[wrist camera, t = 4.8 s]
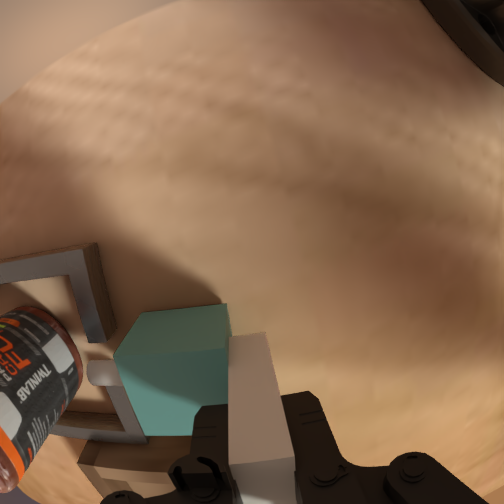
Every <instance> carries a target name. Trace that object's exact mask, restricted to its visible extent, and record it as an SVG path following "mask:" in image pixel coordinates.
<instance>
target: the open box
mask: <svg viewBox="0 0 504 504" xmlns="http://www.w3.org/2000/svg"><path fill="white" fill-rule="evenodd" d="M191 439H192V436H151V437H150V440H149V444H129V443H115V442H104V441H94V440H88V441H87V443H86V445H85V447H84V449H83V451H82V453H81V456H80V458H79V460H78V462H77V464H78V466H79V467H80V468H81V470H82V471H83V472H84V474H85V475H86V476H87V478H88V479H89V480H90V482H91V483H92V484H93V486H94V487H95V488H96V489H97V491H98V492H99V493H100V494H101V495H102V497H103V498H105V497H106V496H107V495H109V494H111V493H113V492H115V491H122V490H127V491H134V492H136V493H138V494H140V495H141V496H142V497H143V498H148V497H153V496H158V495H163V494H166V493H169V492H172V491H173V490H175V489H176V488H175V486H174V485H173V483H172V481H171V479H170V477H169V476H168V474H167V473H168V470H169V468H170V466H171V465H172V464H173V463H174V462H175V461H176V460H177V459H179V458H181V457H183V456H185V455H188V454H190V446H191Z"/></svg>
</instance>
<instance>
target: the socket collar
mask: <svg viewBox="0 0 504 504" xmlns="http://www.w3.org/2000/svg"><path fill="white" fill-rule="evenodd" d="M62 275H69V278H70V282H71V286H72V290H73V293H74V297H75V301H76V304H77V308H78V311H79V314H80V318H81V321H82V324H83V327H84V330H85V333H86V336H87V339H88V342H89V343H106V342H108V340H109V339H110V338H111V336H112V335H113V334H114V332H115V331H116V330H117V326H116V322H115V319H114V315H113V311H112V308H111V304H110V300H109V296H108V292H107V288H106V284H105V280H104V276H103V271H102V267H101V262H100V258H99V253H98V248H97V243H90V244H84V245H78V246H73V247H67V248H62V249H56V250H51V251H45V252H40V253H35V254H29V255H24V256H19V257H14V258H9V259H4V260H0V284H3V283H11V282H18V281H25V280H33V279H40V278H48V277H55V276H62ZM105 387H106V389H107V392H108V394H109V396H110V399H111V401H112V403H113V405H114V408H115V410H116V412H117V414H118V415H114V414H97V413H84V412H73V411H64V412H63V414H62V415H61V416H60V418H59V420H58V421H57V422H56V424H55V426H54V427H53V429H52V430H51V432H50V433H49V434H54V435H59V436H65V437H72V438H78V439H86V440H94V441H104V442H115V443H129V444H149V440H150V437H151V436H145V434H144V432H143V430H142V427H141V425H140V423H139V421H138V419H137V416H136V414H135V412H134V410H133V407H132V405H131V402H130V400H129V398H128V395H127V393H126V390H125V388H124V386H105Z"/></svg>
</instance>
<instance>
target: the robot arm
mask: <svg viewBox="0 0 504 504" xmlns="http://www.w3.org/2000/svg"><path fill="white" fill-rule="evenodd" d="M422 1H423V3H424V4H425V5H426V7H427V8H428V9H429V11H430V12H431V13H432V15H433V16H434V17H435V19H436V20H437V21H438V22H439V23H440V25H441V26H442V27H443V28H444V30H445V31H446V32H447V33H448V34H449V35H450V37H451V38H452V39H453V40H454V41H455V42H456V43H457V44H458V46H459V47H460V48H461V49H462V50H463V51H464V52H465V53H466V54H467V55H468V56H469V57H470V58H471V59H472V60H473V61H474V62H475V63H476V64H477V65H478V66H479V67H480V68H481V69H482V70H483V71H484V72H485V73H487V74H488V75H489V76H490V77H491V78H493V79H494V80H495V81H497V82H498V83H499V84H501V85H502V86H504V0H422ZM167 474H168V476H169V477H170V479H171V481H172V483H173V485H174V486H175V488H176V489H175V490H173V491H172V492H169V493H166V494H163V495H158V496H153V497H148V498H143V497H142V496H141V495H140V494H138V493H136V492H134V491H127V490H122V491H115V492H113V493H111V494H109V495H107V496H106V497H105V498H104V499H103V500H102V501H101V503H100V504H489V503H487V502H486V501H485V500H484V499H482V498H481V497H480V496H479V495H477V494H476V493H475V492H474V491H472V490H471V489H470V488H469V487H468V486H466V485H465V484H464V483H463V482H461V481H460V480H459V479H458V478H457V477H455V476H454V475H453V474H452V473H451V472H449V471H448V470H447V469H446V468H445V467H443V466H442V465H441V464H440V463H439V462H437V461H436V460H435V459H434V458H433V457H431V456H429V455H427V454H426V453H421V452H408V453H405V454H402V455H400V456H397V457H396V458H395V459H394V460H393V461H392V462H391V463H390V465H389V466H378V467H361V466H357V465H354V464H352V463H350V462H348V461H347V460H346V459H344V458H343V457H342V455H341V453H340V451H339V449H338V446H337V444H336V441H335V439H334V436H333V434H332V431H331V429H330V426H329V424H328V421H327V420H326V416H325V414H324V412H323V409H322V406H321V404H320V401H319V399H318V398H317V397H316V396H314V395H313V394H312V393H311V392H310V391H304V392H299V393H293V394H288V395H282V396H280V392H279V388H278V384H277V379H276V375H275V371H274V367H273V362H272V358H271V354H270V349H269V345H268V341H267V337H266V332H262V333H255V334H248V335H240V336H233V337H229V355H228V404H218V405H206V406H201V408H200V409H199V411H198V412H197V413H196V415H195V416H194V423H193V430H192V439H191V446H190V454H188V455H185V456H183V457H181V458H179V459H177V460H176V461H175V462H174V463H173V464H172V465H171V466H170V468H169V470H168V473H167Z"/></svg>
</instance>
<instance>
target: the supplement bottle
mask: <svg viewBox="0 0 504 504" xmlns="http://www.w3.org/2000/svg"><path fill="white" fill-rule="evenodd" d="M82 378H83V366H82V361H81V358H80V354H79V352H78V350H77V348H76V345H75V344H74V342H73V340H72V338H71V337H70V335H69V334H68V333H67V331H66V330H65V329H64V328H63V326H61V324H59V323H58V322H57V321H56V320H55V319H54V318H52V317H51V316H50V315H48V314H47V313H45V312H44V311H42V310H39V309H37V308H34V307H26V306H24V307H19V308H16V309H14V310H12V311H10V312H8V313H6V314H5V315H3V316H1V317H0V493H7V492H9V491H11V490H13V489H14V488H15V487H16V486H17V484H18V483H19V482H20V480H21V478H22V476H23V474H24V473H25V471H26V470H27V469H28V467H29V465H30V463H31V462H32V461H33V459H34V457H35V455H36V454H37V452H38V451H39V449H40V447H41V446H42V444H43V443H44V441H45V439H46V438H47V436H48V435H49V433H50V432H51V430H52V429H53V427H54V426H55V424H56V422H57V421H58V420H59V418H60V416H61V415H62V414H63V412H64V411H65V409H66V408H67V406H68V405H69V403H70V402H71V400H72V399H73V398H74V396H75V394H76V392H77V391H78V389H79V387H80V385H81V383H82Z"/></svg>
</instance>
